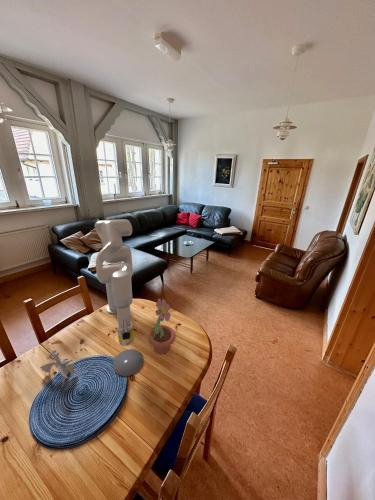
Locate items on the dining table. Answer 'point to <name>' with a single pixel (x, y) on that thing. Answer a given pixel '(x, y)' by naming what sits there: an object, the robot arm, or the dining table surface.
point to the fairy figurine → (59, 365)
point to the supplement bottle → (126, 341)
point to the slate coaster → (128, 362)
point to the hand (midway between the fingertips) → (125, 332)
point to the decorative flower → (161, 330)
